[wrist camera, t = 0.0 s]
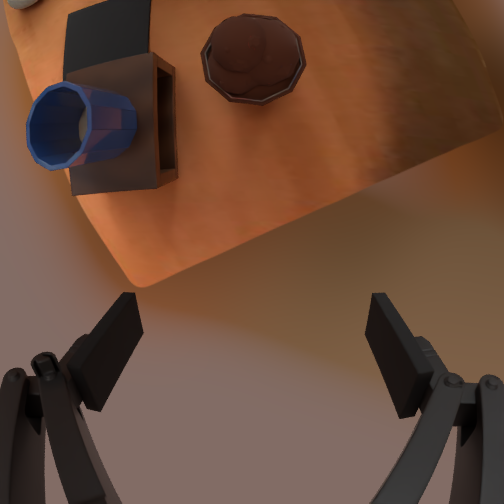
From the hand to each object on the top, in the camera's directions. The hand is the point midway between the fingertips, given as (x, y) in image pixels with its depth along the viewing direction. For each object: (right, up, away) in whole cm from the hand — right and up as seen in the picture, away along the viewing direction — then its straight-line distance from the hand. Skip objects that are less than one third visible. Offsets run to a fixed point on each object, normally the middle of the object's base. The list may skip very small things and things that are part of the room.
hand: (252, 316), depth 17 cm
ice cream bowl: (+1, +27, +20) cm, 34 cm away
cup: (-17, +18, +14) cm, 28 cm away
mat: (-22, +36, +17) cm, 46 cm away
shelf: (-16, +21, +23) cm, 35 cm away
